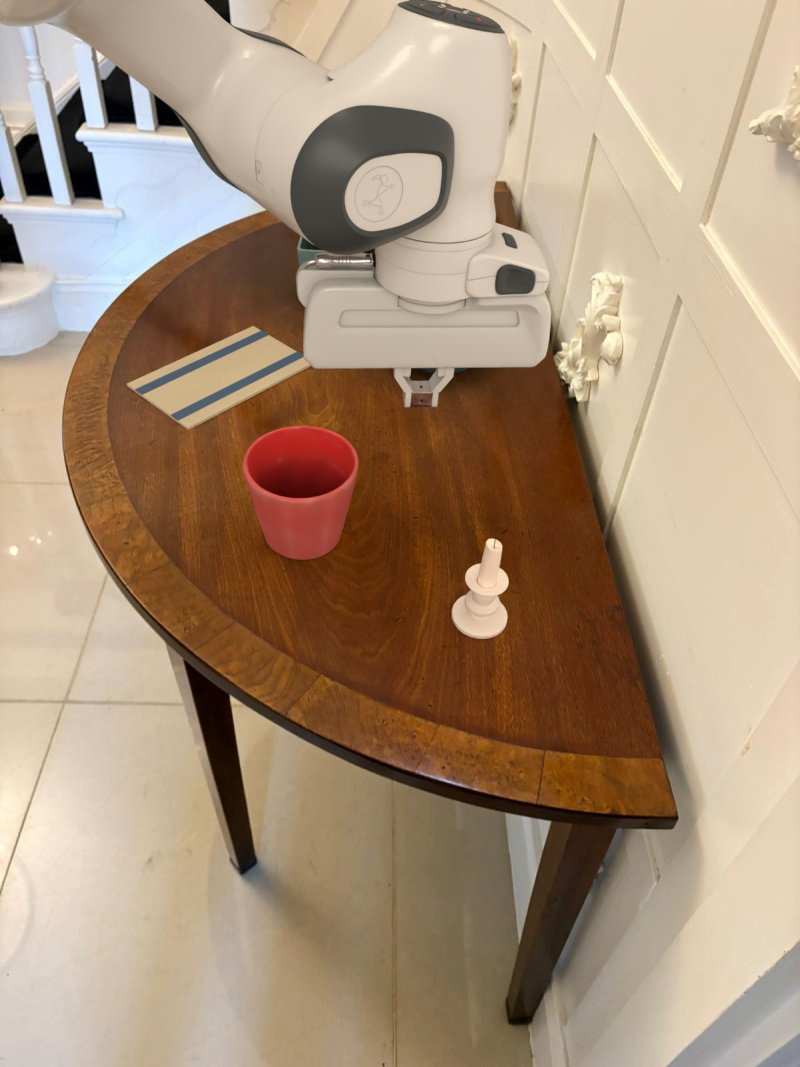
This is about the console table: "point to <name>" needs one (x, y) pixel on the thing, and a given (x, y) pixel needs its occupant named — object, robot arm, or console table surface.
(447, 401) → the console table surface
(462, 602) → the candle
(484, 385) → the console table surface
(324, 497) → the flower pot
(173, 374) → the cloth
